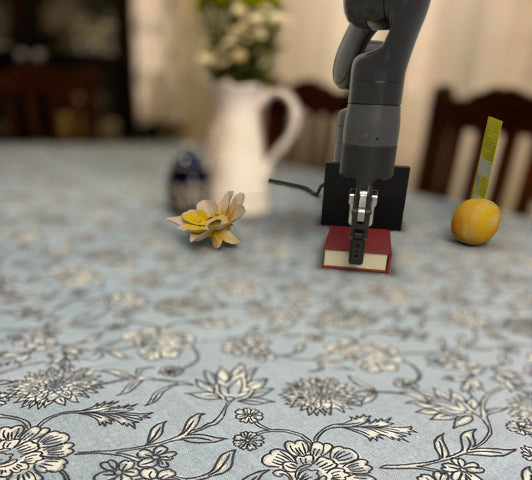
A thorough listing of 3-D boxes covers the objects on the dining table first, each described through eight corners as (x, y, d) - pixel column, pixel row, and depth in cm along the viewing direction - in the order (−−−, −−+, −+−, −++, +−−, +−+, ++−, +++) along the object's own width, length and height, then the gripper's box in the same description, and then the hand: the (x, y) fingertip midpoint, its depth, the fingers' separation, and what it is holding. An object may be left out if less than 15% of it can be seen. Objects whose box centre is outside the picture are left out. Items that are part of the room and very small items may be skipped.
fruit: (488, 252, 91) (499, 207, 88) (442, 244, 95) (451, 200, 91) (498, 241, 98) (508, 198, 94) (455, 234, 102) (463, 192, 98)
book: (389, 273, 80) (391, 253, 79) (321, 267, 82) (323, 247, 80) (387, 247, 92) (390, 229, 91) (328, 242, 94) (330, 225, 92)
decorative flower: (159, 222, 96) (170, 167, 92) (216, 231, 101) (228, 180, 97) (179, 251, 85) (192, 190, 80) (242, 260, 90) (257, 203, 85)
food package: (481, 226, 107) (505, 121, 98) (476, 226, 108) (499, 121, 98) (471, 210, 121) (491, 116, 111) (466, 210, 121) (485, 116, 111)
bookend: (400, 230, 103) (410, 167, 97) (320, 224, 105) (325, 162, 99) (399, 222, 109) (408, 162, 103) (323, 216, 111) (328, 157, 105)
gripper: (399, 147, 65) (380, 279, 73) (396, 138, 76) (380, 253, 84) (339, 143, 66) (327, 274, 74) (345, 135, 77) (333, 249, 85)
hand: (355, 263), depth 79 cm, fingers closed
